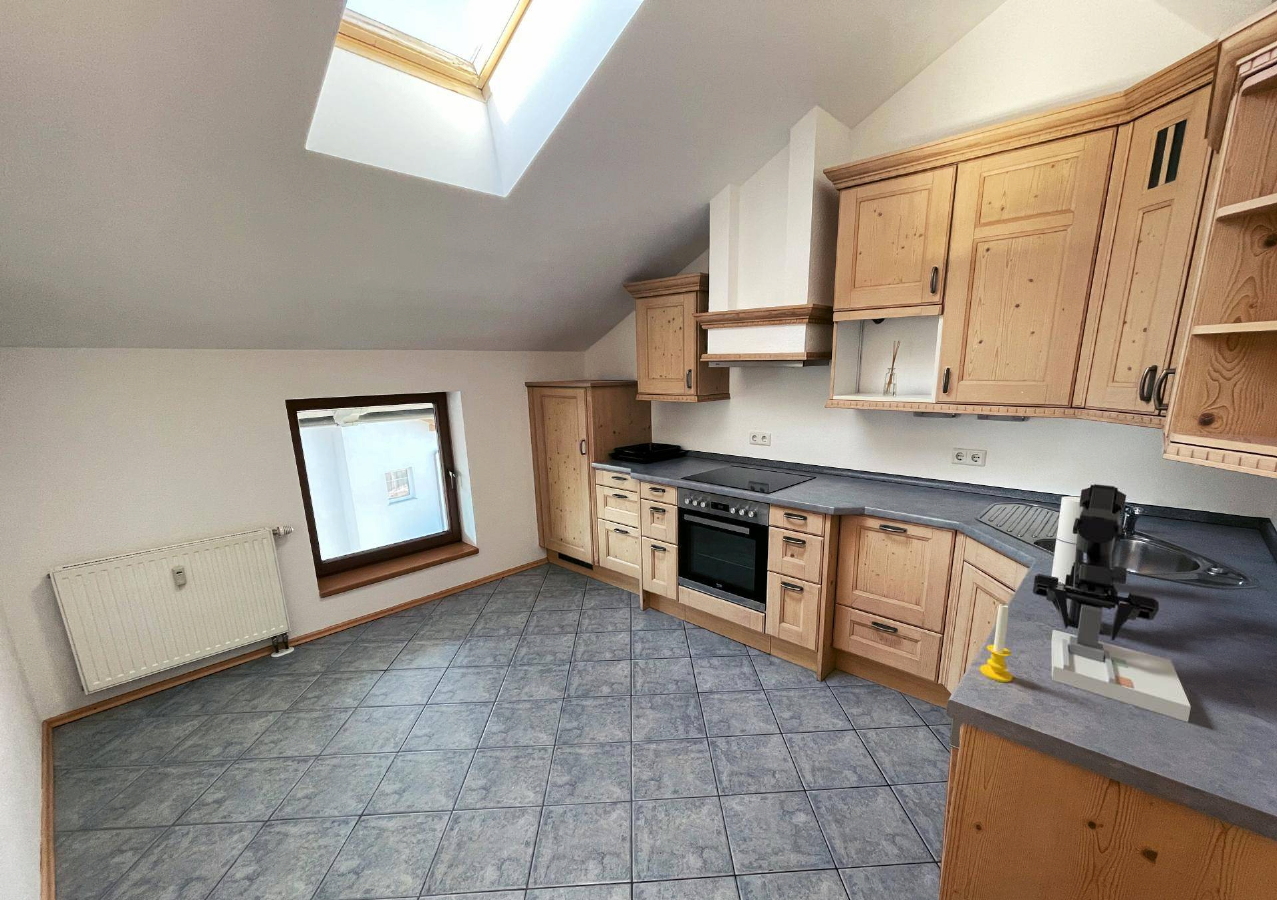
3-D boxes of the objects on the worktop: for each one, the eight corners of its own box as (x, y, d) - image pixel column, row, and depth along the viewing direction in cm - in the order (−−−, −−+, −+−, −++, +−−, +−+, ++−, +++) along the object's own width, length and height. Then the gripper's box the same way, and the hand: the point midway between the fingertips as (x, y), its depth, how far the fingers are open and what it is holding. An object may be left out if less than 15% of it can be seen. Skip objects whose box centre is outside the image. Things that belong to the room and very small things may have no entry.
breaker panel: (1051, 641, 107) (1053, 625, 107) (1168, 673, 96) (1171, 655, 95) (1051, 679, 94) (1054, 661, 93) (1187, 722, 82) (1191, 701, 81)
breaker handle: (1068, 644, 101) (1074, 601, 99) (1101, 653, 97) (1108, 608, 96) (1069, 652, 98) (1075, 608, 96) (1102, 662, 94) (1109, 615, 93)
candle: (977, 664, 99) (984, 595, 97) (1007, 669, 97) (1015, 599, 95) (984, 678, 94) (992, 606, 92) (1016, 684, 92) (1025, 611, 90)
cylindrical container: (1049, 574, 143) (1060, 495, 140) (1081, 579, 139) (1092, 498, 136) (1052, 582, 138) (1063, 500, 134) (1085, 588, 134) (1098, 504, 130)
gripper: (1039, 538, 103) (1032, 603, 97) (1165, 559, 91) (1166, 635, 85) (1035, 562, 110) (1029, 624, 104) (1151, 584, 98) (1152, 655, 92)
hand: (1088, 633), depth 96 cm, fingers open, 7 cm apart
